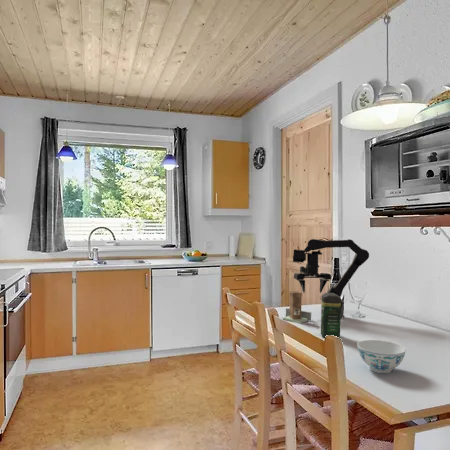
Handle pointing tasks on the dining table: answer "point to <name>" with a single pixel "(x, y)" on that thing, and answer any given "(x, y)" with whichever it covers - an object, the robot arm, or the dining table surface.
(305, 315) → the grey rail
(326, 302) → the coffee jar
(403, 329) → the dining table surface
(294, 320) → the green pad
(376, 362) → the chinaware
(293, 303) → the walnut block
